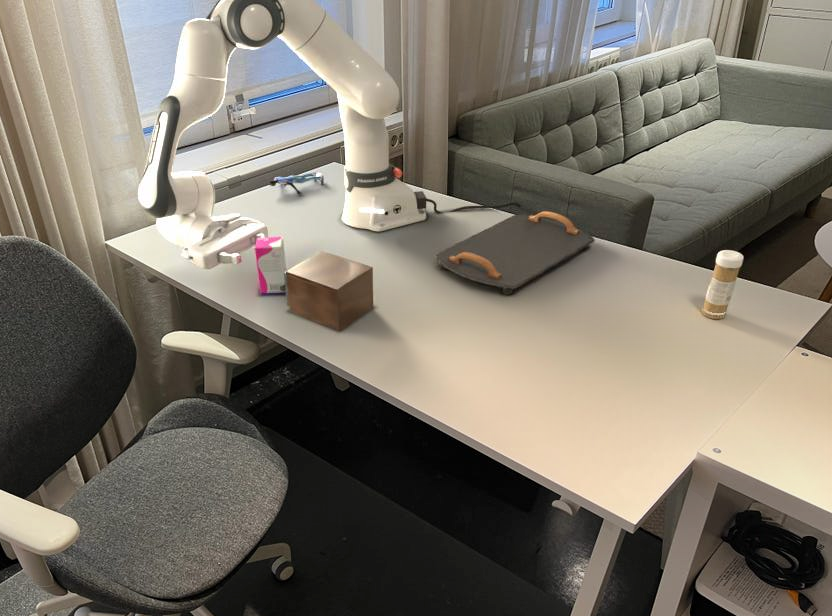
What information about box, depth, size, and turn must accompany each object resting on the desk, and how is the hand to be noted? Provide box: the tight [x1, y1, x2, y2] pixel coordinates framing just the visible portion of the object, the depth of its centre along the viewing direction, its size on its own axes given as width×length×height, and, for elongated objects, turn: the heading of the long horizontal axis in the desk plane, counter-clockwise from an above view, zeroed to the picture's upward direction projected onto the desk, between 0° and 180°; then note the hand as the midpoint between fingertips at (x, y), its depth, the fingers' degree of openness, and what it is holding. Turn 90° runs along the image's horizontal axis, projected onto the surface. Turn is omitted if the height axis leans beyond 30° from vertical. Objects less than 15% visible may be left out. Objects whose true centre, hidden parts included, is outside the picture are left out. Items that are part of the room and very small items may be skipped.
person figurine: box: [268, 172, 325, 196], centre depth 207 cm, size 11×4×18 cm
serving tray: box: [434, 210, 596, 296], centre depth 165 cm, size 39×23×6 cm, turn 134°
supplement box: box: [254, 236, 287, 296], centre depth 155 cm, size 6×6×12 cm
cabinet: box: [286, 250, 374, 332], centre depth 147 cm, size 14×12×10 cm
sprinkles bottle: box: [701, 249, 745, 320], centre depth 140 cm, size 5×5×13 cm
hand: (254, 252), depth 157 cm, fingers open, 8 cm apart
